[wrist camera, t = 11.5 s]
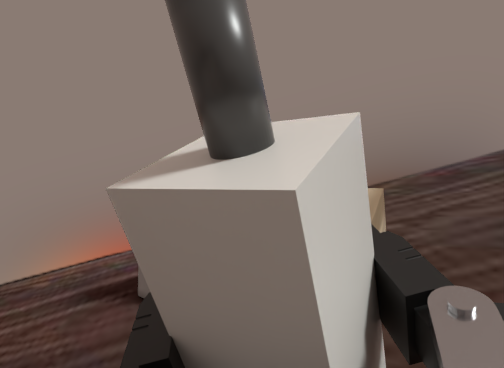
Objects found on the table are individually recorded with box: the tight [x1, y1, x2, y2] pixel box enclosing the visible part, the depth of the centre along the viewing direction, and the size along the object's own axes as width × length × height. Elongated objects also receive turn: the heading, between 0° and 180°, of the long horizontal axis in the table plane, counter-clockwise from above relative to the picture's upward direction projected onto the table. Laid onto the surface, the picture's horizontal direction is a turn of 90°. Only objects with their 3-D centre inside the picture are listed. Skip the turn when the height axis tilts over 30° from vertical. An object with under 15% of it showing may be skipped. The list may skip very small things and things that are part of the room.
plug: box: [106, 0, 386, 368], centre depth 9 cm, size 4×4×16 cm
